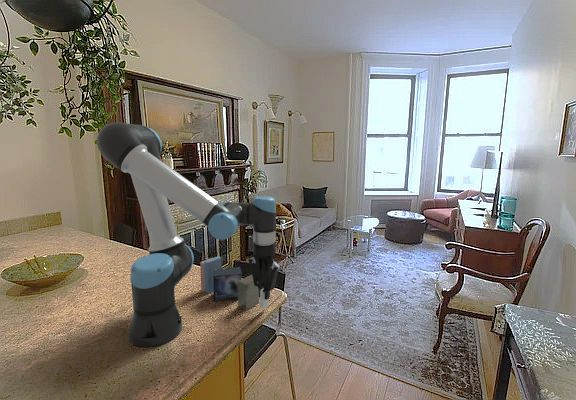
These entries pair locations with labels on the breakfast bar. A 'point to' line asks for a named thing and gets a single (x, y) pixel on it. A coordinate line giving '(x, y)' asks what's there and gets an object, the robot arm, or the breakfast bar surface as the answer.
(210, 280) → the standing books
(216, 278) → the small box
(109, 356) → the breakfast bar surface
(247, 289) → the bookend
